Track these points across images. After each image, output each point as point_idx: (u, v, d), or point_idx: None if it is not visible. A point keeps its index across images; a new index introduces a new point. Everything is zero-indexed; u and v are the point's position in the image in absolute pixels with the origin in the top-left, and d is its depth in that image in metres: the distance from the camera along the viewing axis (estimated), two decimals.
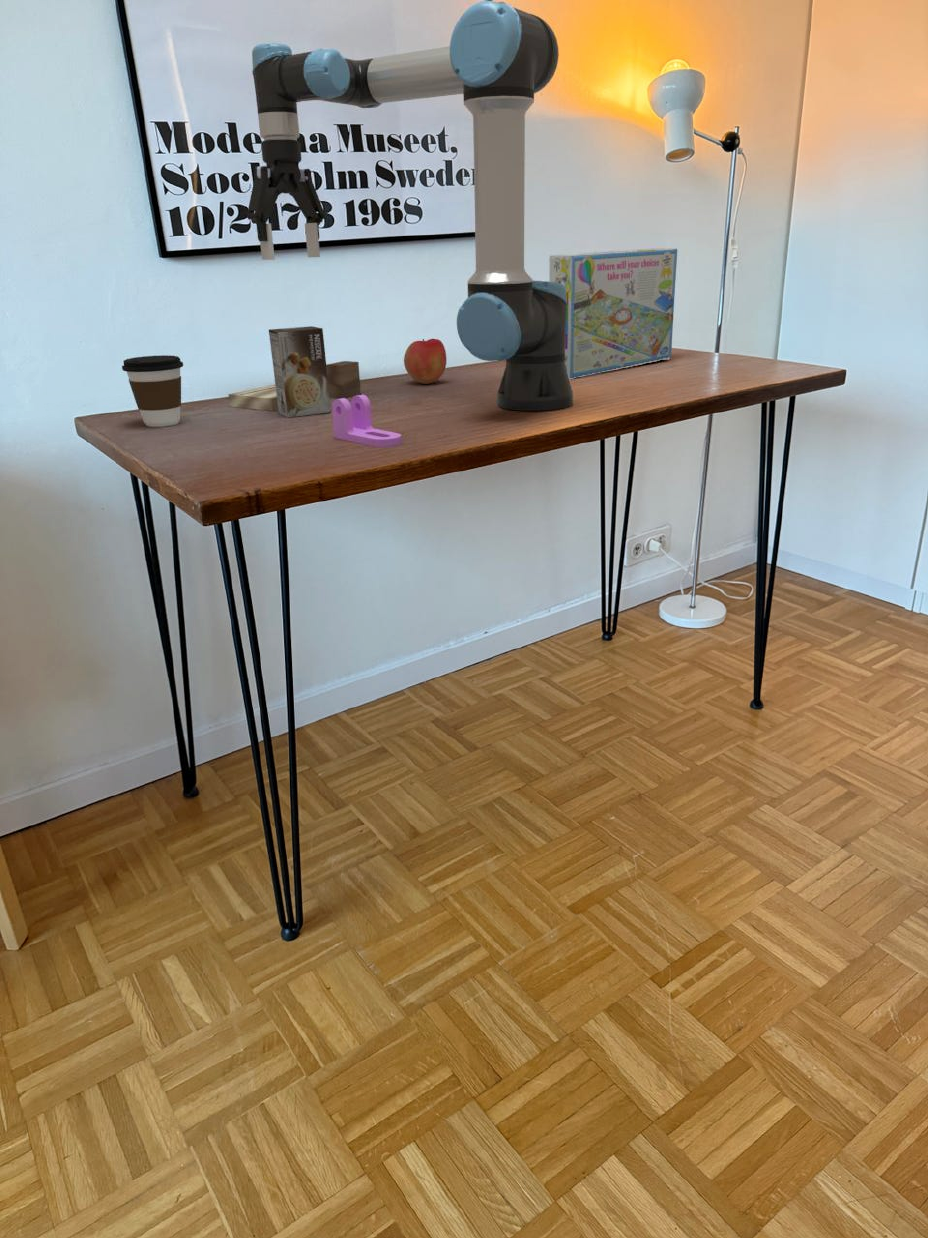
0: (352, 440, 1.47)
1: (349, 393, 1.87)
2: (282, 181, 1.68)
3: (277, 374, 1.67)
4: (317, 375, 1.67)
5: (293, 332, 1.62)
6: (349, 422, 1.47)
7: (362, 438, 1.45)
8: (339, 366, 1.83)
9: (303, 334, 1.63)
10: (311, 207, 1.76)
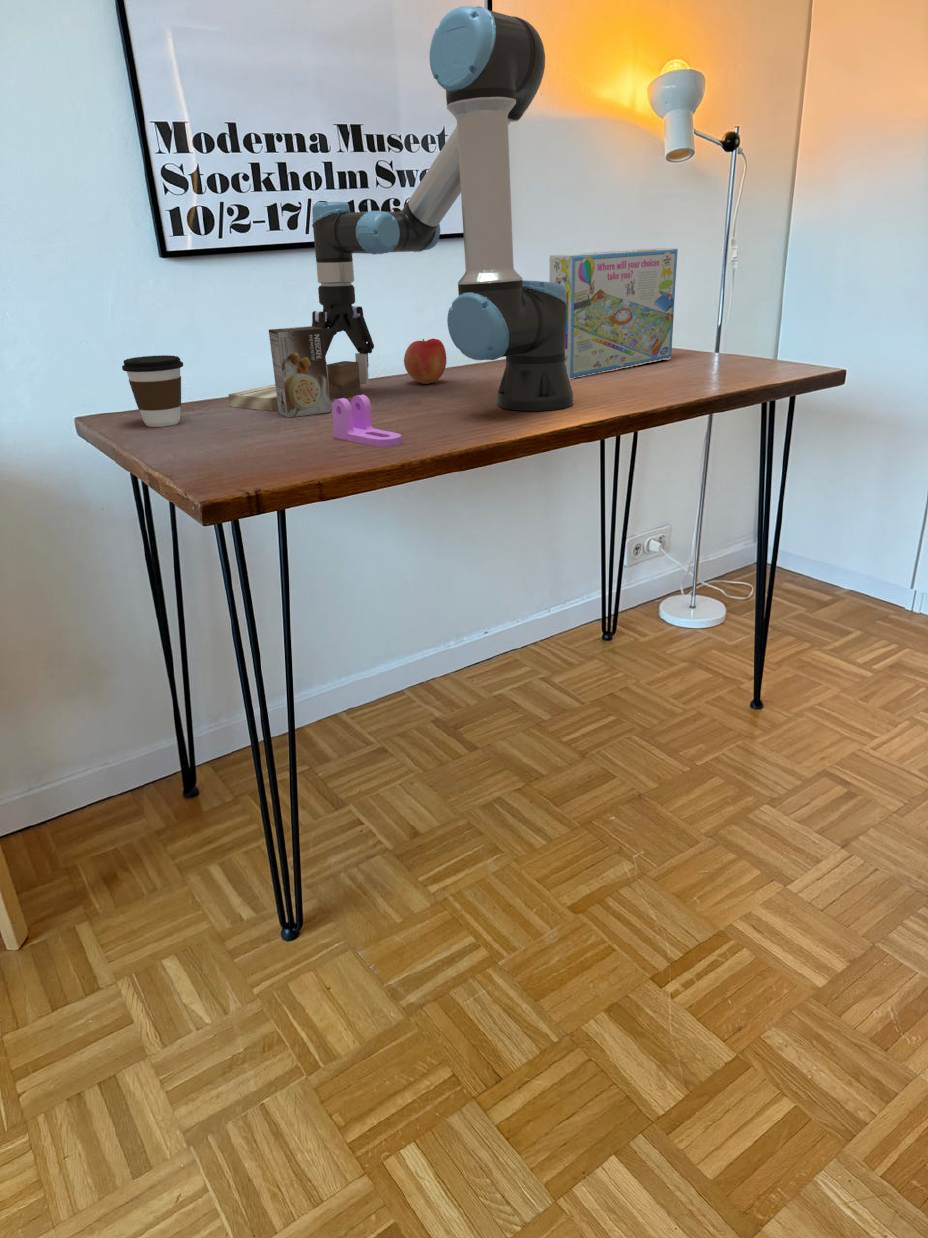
0: (352, 440, 1.47)
1: (349, 393, 1.87)
2: (337, 323, 1.79)
3: (277, 374, 1.67)
4: (317, 375, 1.67)
5: (293, 332, 1.62)
6: (349, 422, 1.47)
7: (362, 438, 1.45)
8: (339, 366, 1.83)
9: (303, 334, 1.63)
10: (362, 340, 1.88)
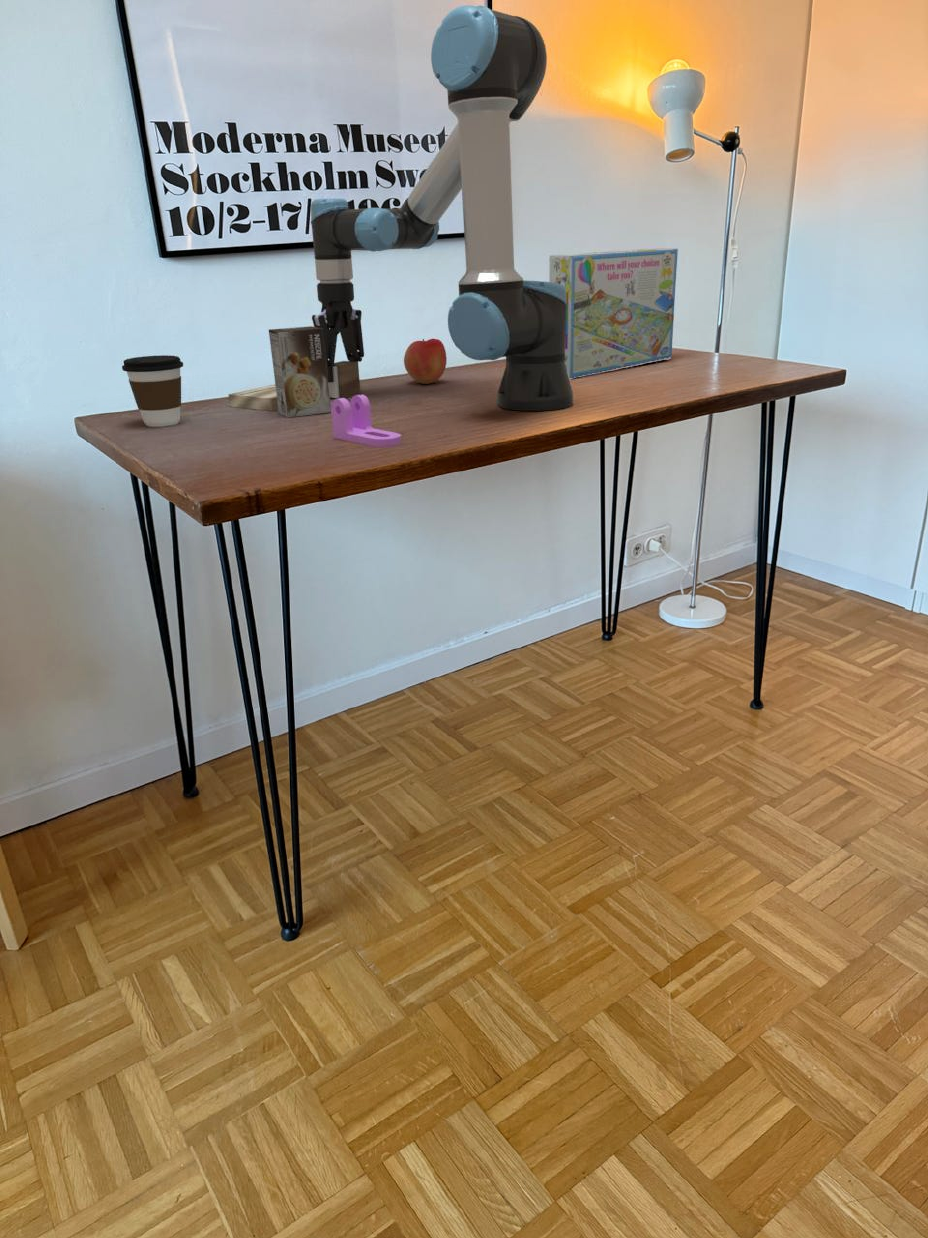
0: (352, 440, 1.47)
1: (349, 393, 1.87)
2: (338, 321, 1.80)
3: (277, 374, 1.67)
4: (317, 375, 1.67)
5: (293, 332, 1.62)
6: (348, 422, 1.47)
7: (362, 438, 1.45)
8: (339, 366, 1.82)
9: (303, 334, 1.63)
10: (354, 346, 1.86)
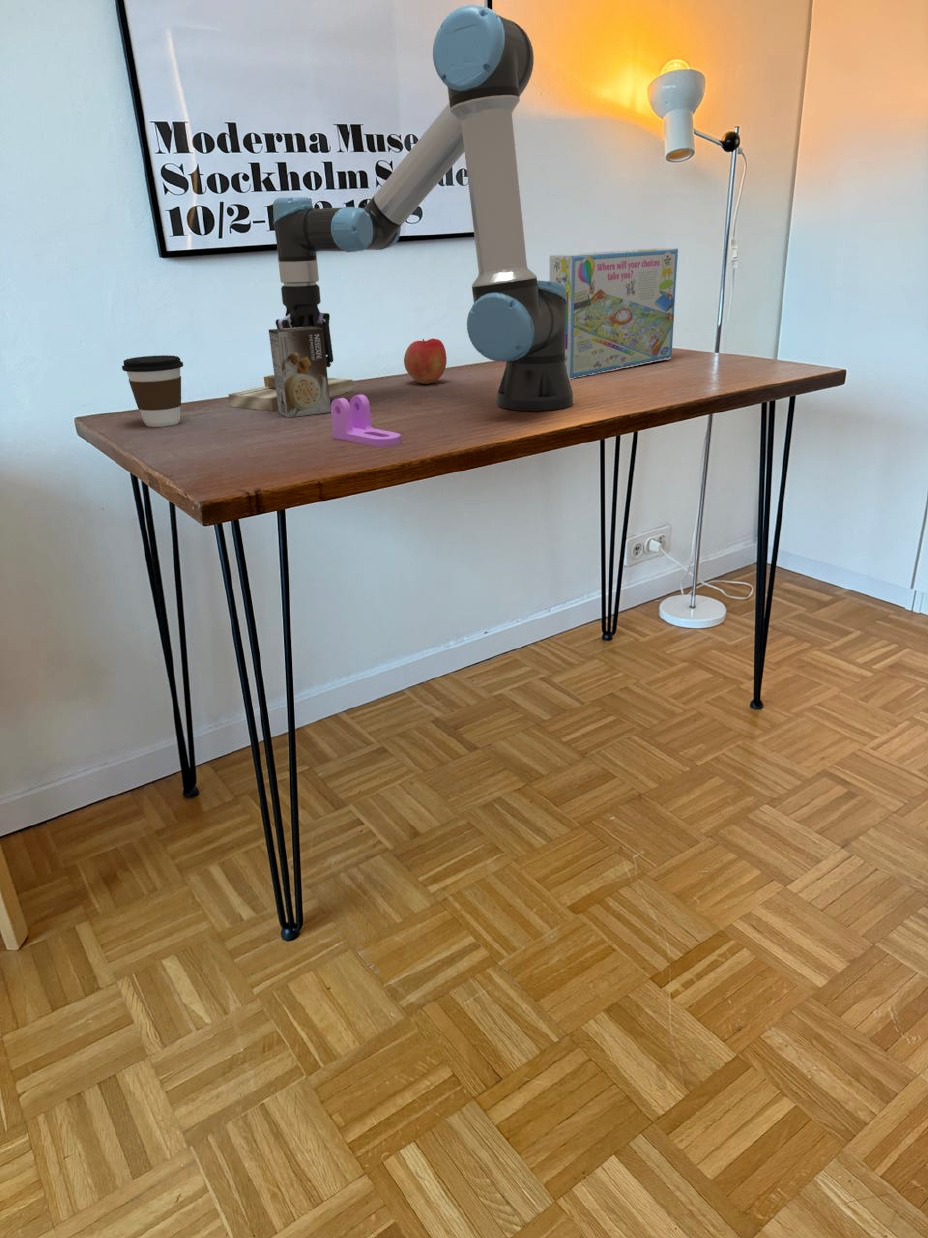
0: (351, 440, 1.47)
1: None
2: (303, 326, 1.72)
3: (277, 374, 1.67)
4: (317, 375, 1.67)
5: (293, 332, 1.62)
6: (348, 422, 1.47)
7: (361, 438, 1.45)
8: None
9: (303, 334, 1.63)
10: None
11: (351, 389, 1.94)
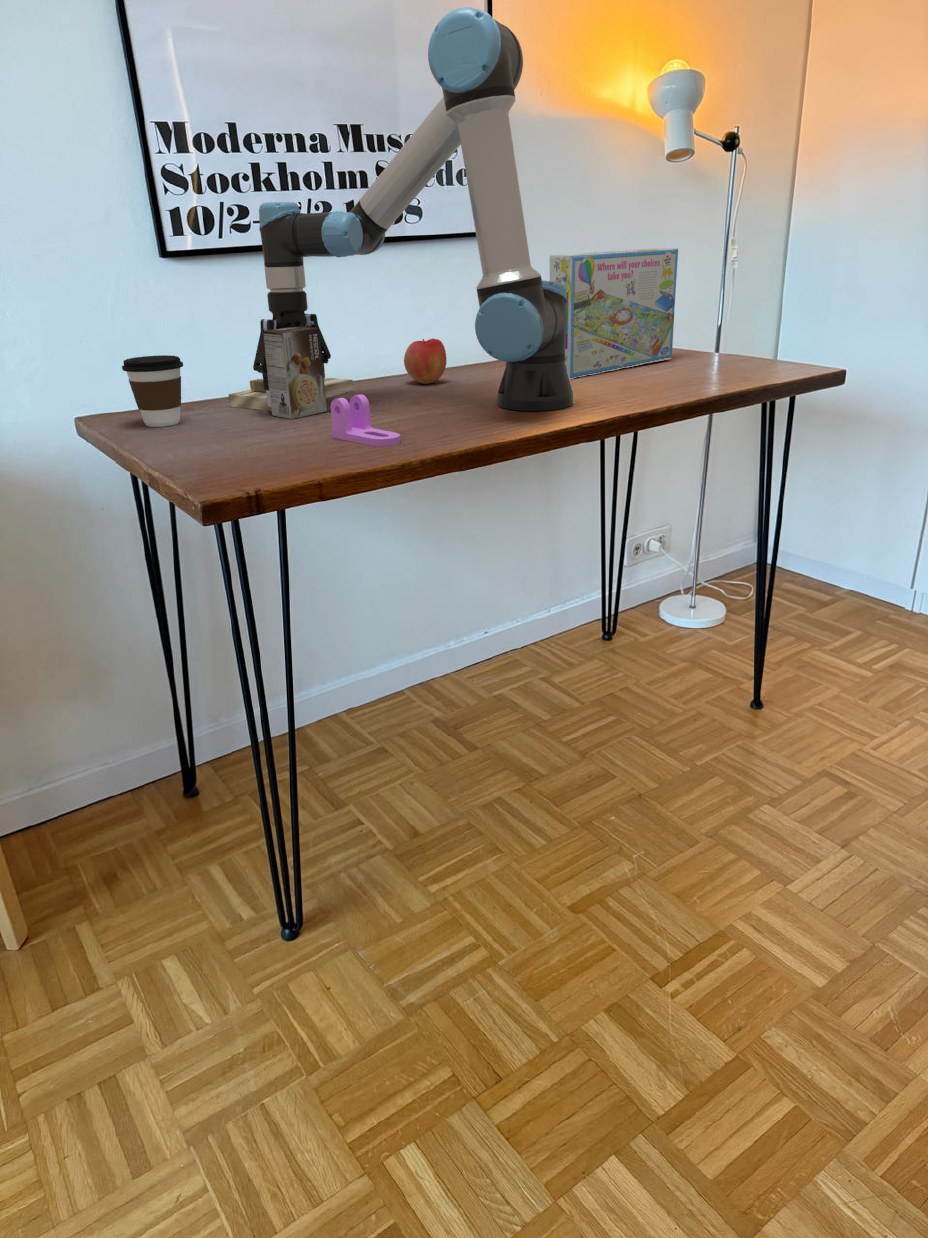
0: (351, 440, 1.47)
1: None
2: None
3: (276, 376, 1.64)
4: (315, 375, 1.67)
5: (296, 332, 1.61)
6: (348, 422, 1.47)
7: (361, 438, 1.45)
8: None
9: (304, 335, 1.63)
10: None
11: (351, 389, 1.94)
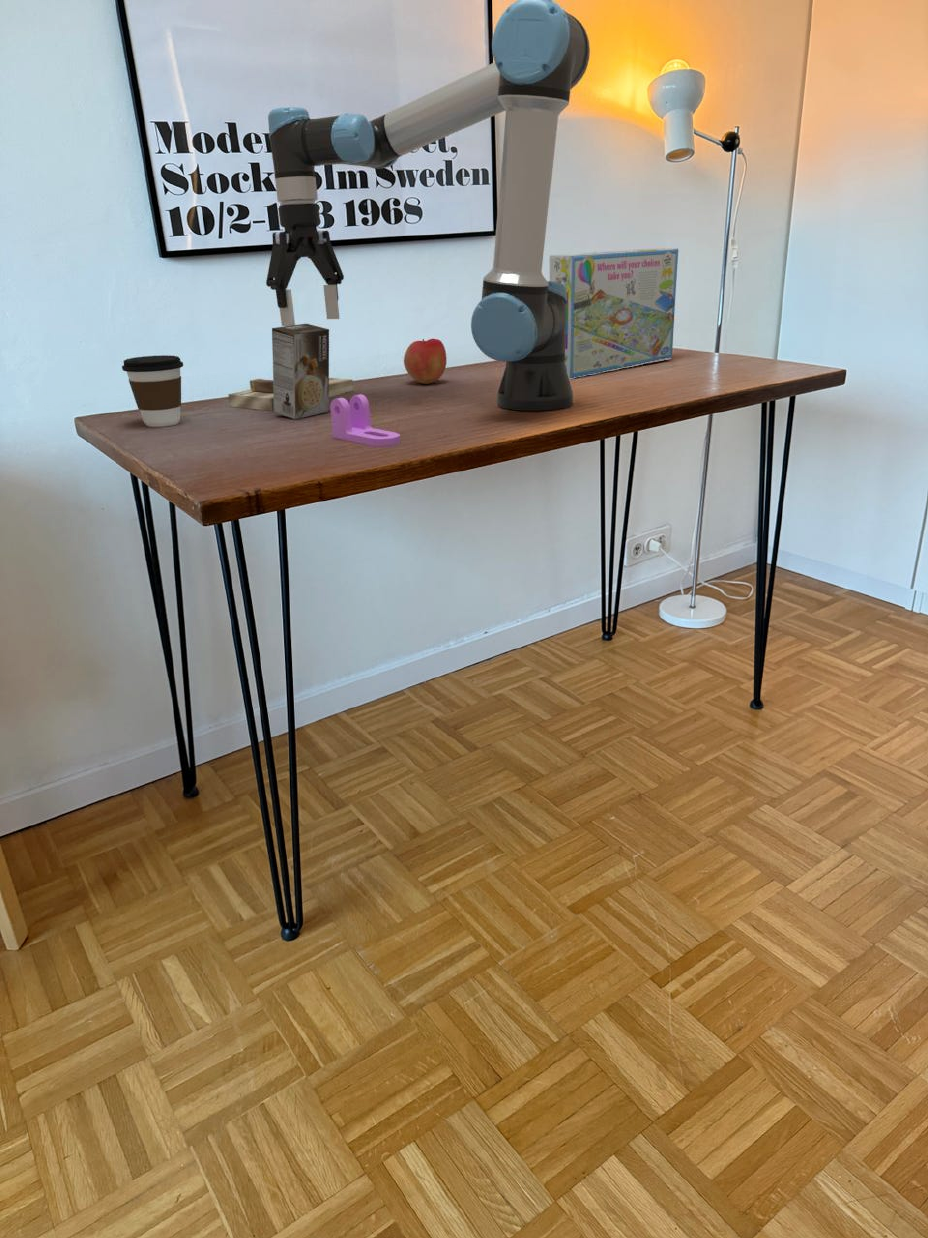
0: (351, 440, 1.47)
1: None
2: (301, 246, 1.63)
3: (282, 374, 1.63)
4: (321, 376, 1.67)
5: (306, 334, 1.60)
6: (348, 422, 1.47)
7: (361, 438, 1.45)
8: None
9: (314, 336, 1.61)
10: (330, 269, 1.71)
11: (351, 389, 1.94)
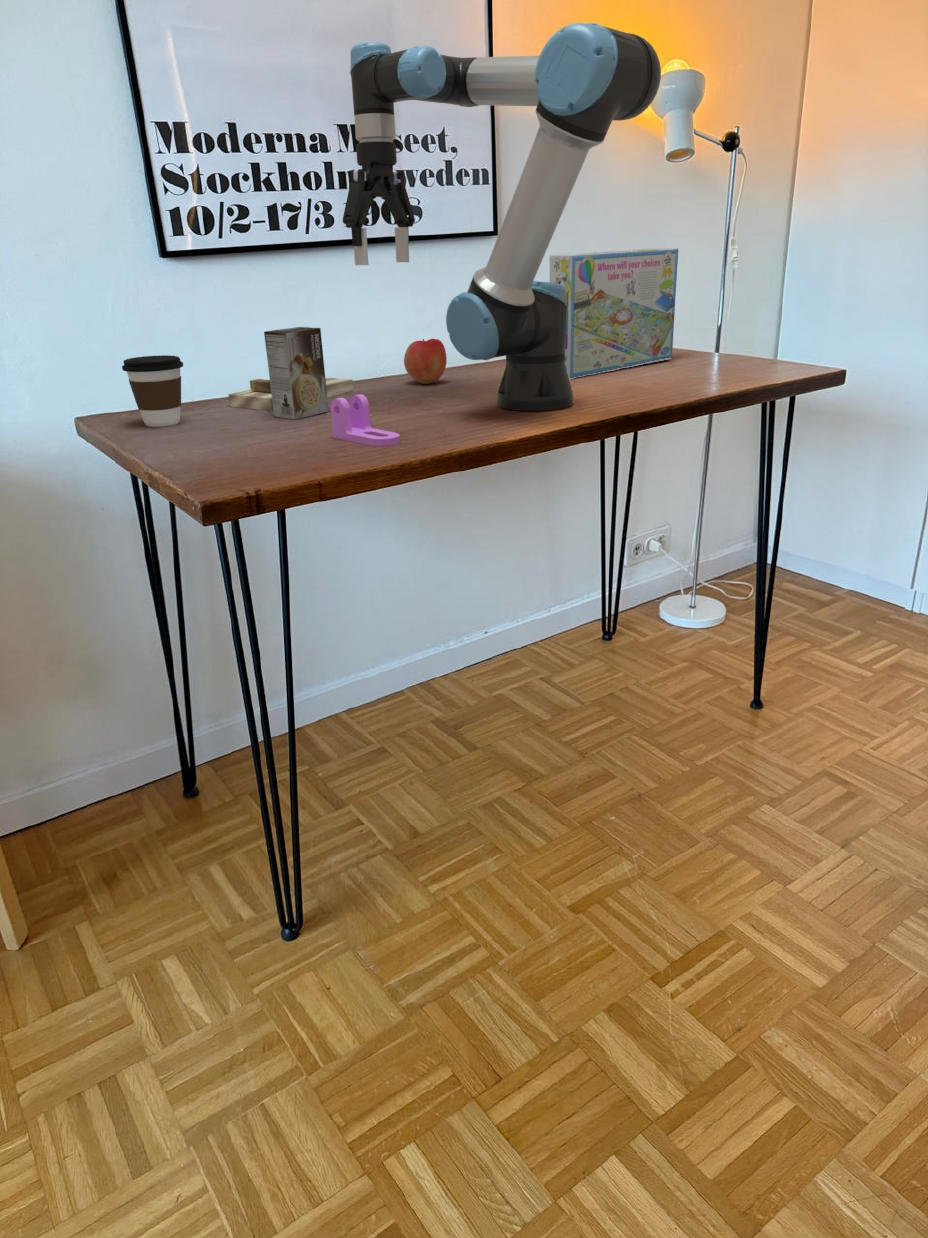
0: (350, 440, 1.47)
1: None
2: (378, 184, 1.63)
3: (278, 376, 1.64)
4: (317, 375, 1.67)
5: (298, 333, 1.61)
6: (347, 422, 1.47)
7: (361, 438, 1.45)
8: None
9: (306, 335, 1.62)
10: (403, 211, 1.72)
11: (351, 389, 1.94)
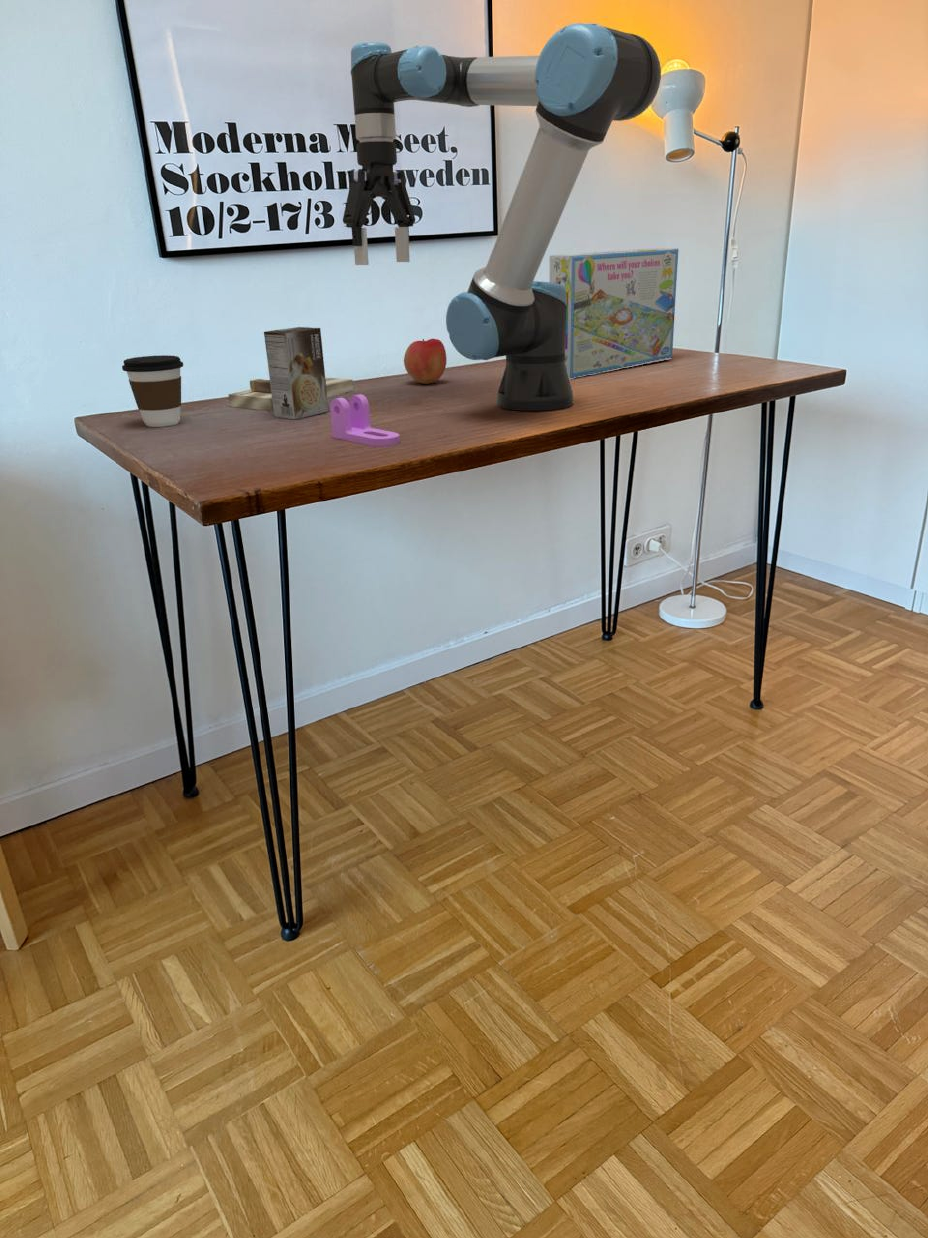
0: (350, 439, 1.47)
1: None
2: (378, 184, 1.63)
3: (278, 376, 1.64)
4: (317, 375, 1.67)
5: (298, 333, 1.61)
6: (347, 422, 1.47)
7: (360, 437, 1.45)
8: None
9: (305, 335, 1.62)
10: (403, 211, 1.72)
11: (351, 389, 1.94)
